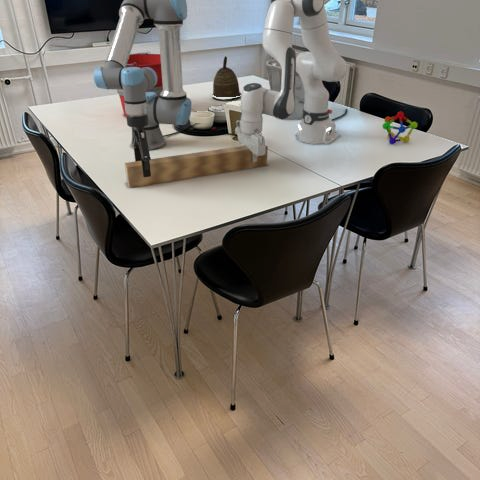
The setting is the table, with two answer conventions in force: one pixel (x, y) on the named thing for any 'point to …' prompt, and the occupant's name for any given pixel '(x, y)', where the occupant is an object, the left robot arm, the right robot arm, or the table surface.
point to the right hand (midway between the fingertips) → (250, 158)
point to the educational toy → (398, 128)
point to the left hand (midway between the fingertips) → (143, 170)
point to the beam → (193, 165)
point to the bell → (225, 82)
